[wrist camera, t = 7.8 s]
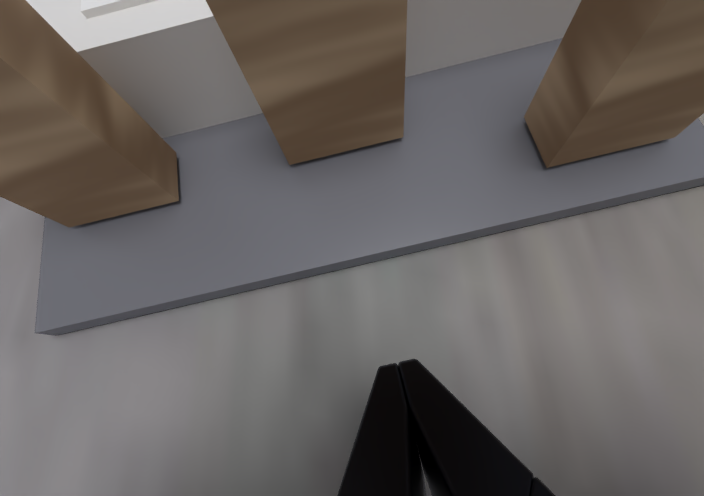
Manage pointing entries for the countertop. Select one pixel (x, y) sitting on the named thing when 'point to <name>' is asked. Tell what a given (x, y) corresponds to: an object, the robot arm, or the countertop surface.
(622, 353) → the countertop surface
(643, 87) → the key
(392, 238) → the key console
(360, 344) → the countertop surface
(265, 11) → the key middle
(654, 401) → the countertop surface
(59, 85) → the key
